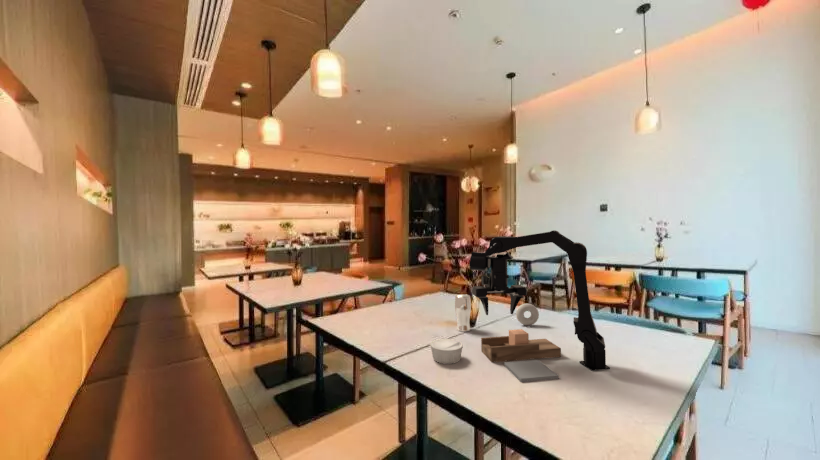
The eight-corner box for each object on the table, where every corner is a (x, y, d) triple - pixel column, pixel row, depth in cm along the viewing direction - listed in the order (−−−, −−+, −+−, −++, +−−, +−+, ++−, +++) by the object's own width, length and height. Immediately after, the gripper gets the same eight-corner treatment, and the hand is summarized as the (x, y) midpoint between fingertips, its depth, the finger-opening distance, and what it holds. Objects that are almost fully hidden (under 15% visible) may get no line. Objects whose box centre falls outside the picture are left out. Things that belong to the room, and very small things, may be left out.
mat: (558, 378, 101) (558, 375, 101) (520, 382, 99) (520, 378, 99) (538, 362, 113) (538, 359, 113) (503, 365, 111) (503, 362, 111)
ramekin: (462, 366, 111) (461, 350, 111) (428, 364, 113) (428, 349, 113) (463, 353, 122) (463, 339, 122) (432, 352, 124) (432, 337, 124)
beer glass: (452, 328, 151) (451, 295, 151) (465, 326, 154) (464, 293, 154) (461, 333, 145) (460, 298, 145) (474, 330, 148) (473, 296, 148)
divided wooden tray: (561, 356, 117) (560, 342, 117) (491, 362, 114) (491, 347, 114) (545, 346, 127) (545, 333, 127) (481, 351, 124) (481, 337, 124)
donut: (537, 324, 155) (537, 302, 155) (540, 326, 151) (539, 304, 151) (515, 324, 156) (515, 302, 156) (517, 326, 152) (516, 304, 152)
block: (528, 347, 118) (528, 333, 118) (515, 348, 117) (514, 334, 117) (522, 342, 123) (521, 329, 123) (509, 343, 122) (508, 330, 122)
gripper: (514, 267, 131) (514, 308, 131) (467, 269, 129) (467, 309, 129) (527, 272, 120) (527, 315, 120) (476, 273, 118) (476, 318, 118)
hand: (499, 314), depth 122 cm, fingers open, 9 cm apart
